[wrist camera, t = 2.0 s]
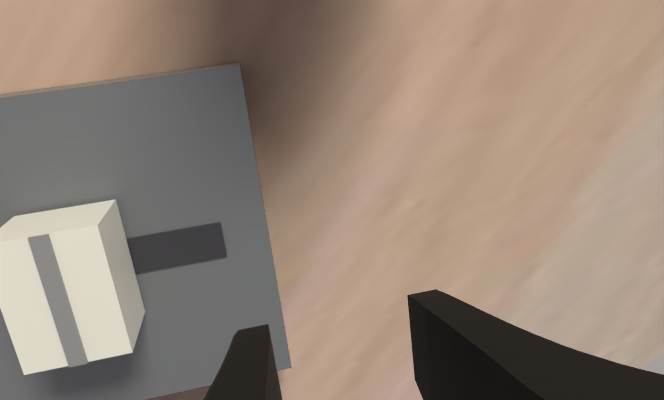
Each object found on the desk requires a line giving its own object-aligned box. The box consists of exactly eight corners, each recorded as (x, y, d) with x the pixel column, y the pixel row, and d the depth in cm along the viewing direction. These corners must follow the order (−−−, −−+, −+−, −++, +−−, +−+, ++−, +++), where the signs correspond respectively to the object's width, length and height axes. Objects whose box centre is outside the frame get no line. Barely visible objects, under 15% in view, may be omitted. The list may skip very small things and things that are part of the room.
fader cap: (145, 311, 18) (132, 354, 15) (51, 330, 17) (22, 377, 15) (115, 199, 17) (96, 226, 14) (14, 216, 16) (-24, 247, 14)
